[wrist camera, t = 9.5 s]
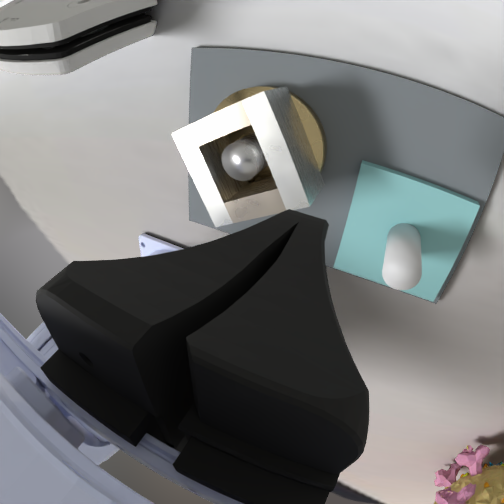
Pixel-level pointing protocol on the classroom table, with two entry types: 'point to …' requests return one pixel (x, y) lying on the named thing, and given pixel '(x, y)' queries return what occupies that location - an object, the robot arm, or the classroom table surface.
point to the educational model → (471, 480)
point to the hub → (247, 145)
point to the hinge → (68, 32)
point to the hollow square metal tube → (275, 151)
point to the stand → (403, 231)
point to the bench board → (359, 130)
